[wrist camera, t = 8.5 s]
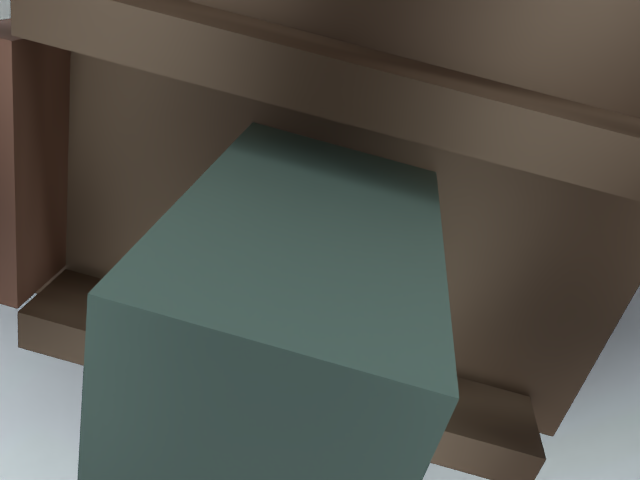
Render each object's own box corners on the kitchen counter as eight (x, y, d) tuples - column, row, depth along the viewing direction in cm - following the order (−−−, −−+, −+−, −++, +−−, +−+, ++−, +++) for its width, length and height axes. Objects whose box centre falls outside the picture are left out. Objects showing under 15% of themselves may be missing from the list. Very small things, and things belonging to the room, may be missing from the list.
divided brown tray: (950, -321, 9) (1167, -431, 6) (546, 414, 15) (572, 502, 13) (49, -533, 9) (-91, -719, 7) (45, 276, 16) (-24, 336, 13)
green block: (436, 172, 12) (459, 397, 6) (383, 323, 14) (358, 618, 8) (253, 122, 12) (88, 293, 6) (224, 279, 14) (74, 533, 8)
